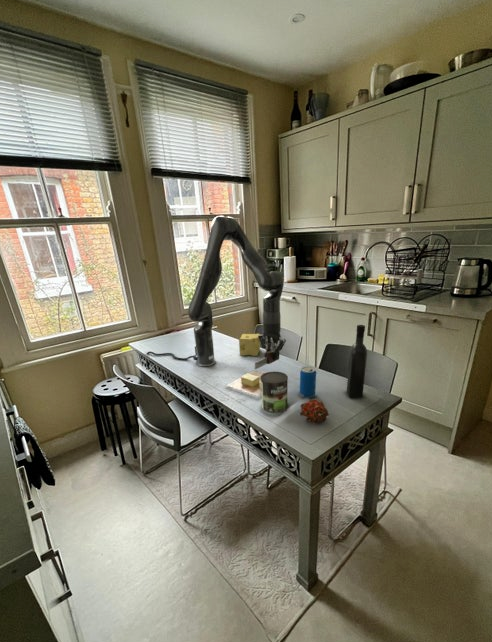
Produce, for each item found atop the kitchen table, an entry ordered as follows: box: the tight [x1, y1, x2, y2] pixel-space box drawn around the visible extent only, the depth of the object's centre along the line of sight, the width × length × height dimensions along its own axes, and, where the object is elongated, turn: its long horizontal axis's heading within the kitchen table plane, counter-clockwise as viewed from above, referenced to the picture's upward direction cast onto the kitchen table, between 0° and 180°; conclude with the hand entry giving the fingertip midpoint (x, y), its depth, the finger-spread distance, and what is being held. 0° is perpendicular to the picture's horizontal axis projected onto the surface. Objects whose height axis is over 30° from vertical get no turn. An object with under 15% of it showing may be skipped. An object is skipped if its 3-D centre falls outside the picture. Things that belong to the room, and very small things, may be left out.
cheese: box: [238, 333, 261, 357], centre depth 180 cm, size 10×11×10 cm
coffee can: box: [261, 371, 289, 416], centre depth 122 cm, size 10×10×14 cm
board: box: [226, 369, 265, 397], centre depth 144 cm, size 18×20×2 cm
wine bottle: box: [346, 324, 368, 399], centre depth 126 cm, size 6×6×30 cm
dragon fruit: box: [299, 399, 330, 424], centre depth 116 cm, size 8×8×12 cm
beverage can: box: [299, 366, 317, 399], centre depth 131 cm, size 6×6×12 cm
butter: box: [240, 372, 260, 387], centre depth 143 cm, size 7×5×3 cm, turn 51°
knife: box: [254, 348, 280, 370], centre depth 137 cm, size 2×16×5 cm, turn 141°
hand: (271, 358), depth 141 cm, fingers closed on knife, 2 cm apart
